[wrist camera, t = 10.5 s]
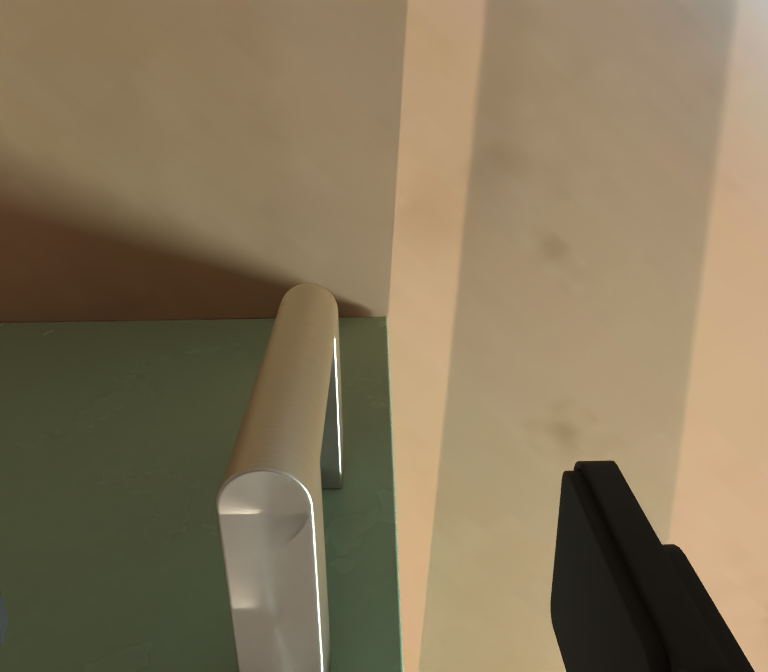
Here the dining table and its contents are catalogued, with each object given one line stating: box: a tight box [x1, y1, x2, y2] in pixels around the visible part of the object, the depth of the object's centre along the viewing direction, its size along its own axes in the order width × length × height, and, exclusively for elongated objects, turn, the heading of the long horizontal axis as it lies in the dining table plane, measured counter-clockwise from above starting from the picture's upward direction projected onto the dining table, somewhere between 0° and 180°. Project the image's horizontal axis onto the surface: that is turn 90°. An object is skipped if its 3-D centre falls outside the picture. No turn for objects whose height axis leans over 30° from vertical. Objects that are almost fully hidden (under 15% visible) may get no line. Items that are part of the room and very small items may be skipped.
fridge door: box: [0, 283, 403, 672], centre depth 24 cm, size 7×24×24 cm, turn 91°
